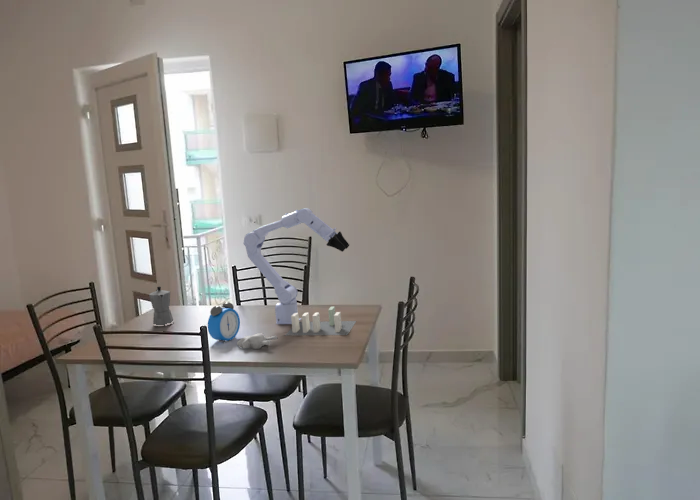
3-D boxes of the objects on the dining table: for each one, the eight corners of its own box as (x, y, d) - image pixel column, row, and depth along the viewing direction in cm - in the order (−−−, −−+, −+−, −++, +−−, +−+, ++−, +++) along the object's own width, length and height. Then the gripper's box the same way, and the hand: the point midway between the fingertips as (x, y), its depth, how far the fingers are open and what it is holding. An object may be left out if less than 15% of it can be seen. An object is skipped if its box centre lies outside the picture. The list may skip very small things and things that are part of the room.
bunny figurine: (245, 332, 218) (278, 329, 212) (247, 345, 218) (280, 342, 213) (232, 340, 209) (266, 337, 203) (234, 353, 209) (268, 350, 204)
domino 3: (313, 332, 223) (312, 315, 222) (316, 328, 228) (315, 312, 227) (317, 332, 223) (316, 315, 222) (320, 328, 228) (319, 312, 227)
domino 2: (303, 332, 224) (301, 316, 223) (306, 328, 229) (305, 312, 228) (306, 332, 224) (305, 315, 223) (310, 328, 229) (308, 312, 228)
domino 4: (329, 325, 231) (328, 309, 230) (332, 322, 236) (331, 306, 235) (333, 325, 231) (332, 309, 230) (335, 322, 235) (334, 306, 234)
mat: (284, 336, 222) (284, 335, 222) (298, 322, 241) (298, 321, 240) (347, 335, 217) (347, 334, 217) (356, 321, 235) (356, 321, 235)
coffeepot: (176, 325, 250) (171, 287, 248) (154, 329, 246) (149, 290, 244) (171, 318, 264) (166, 282, 261) (150, 322, 260) (145, 285, 257)
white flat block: (335, 332, 221) (333, 315, 220) (337, 328, 226) (336, 312, 225) (339, 332, 221) (337, 315, 220) (341, 328, 226) (340, 312, 225)
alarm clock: (220, 345, 216) (216, 308, 214) (208, 344, 219) (204, 307, 217) (242, 335, 227) (238, 300, 225) (230, 334, 230) (226, 299, 228)
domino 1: (292, 332, 225) (291, 316, 224) (296, 328, 230) (294, 312, 229) (296, 332, 225) (294, 316, 224) (299, 328, 230) (298, 312, 228)
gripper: (322, 223, 224) (348, 243, 224) (330, 219, 238) (355, 238, 238) (312, 236, 226) (338, 256, 225) (321, 231, 240) (345, 251, 239)
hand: (346, 248), depth 232 cm, fingers open, 7 cm apart
